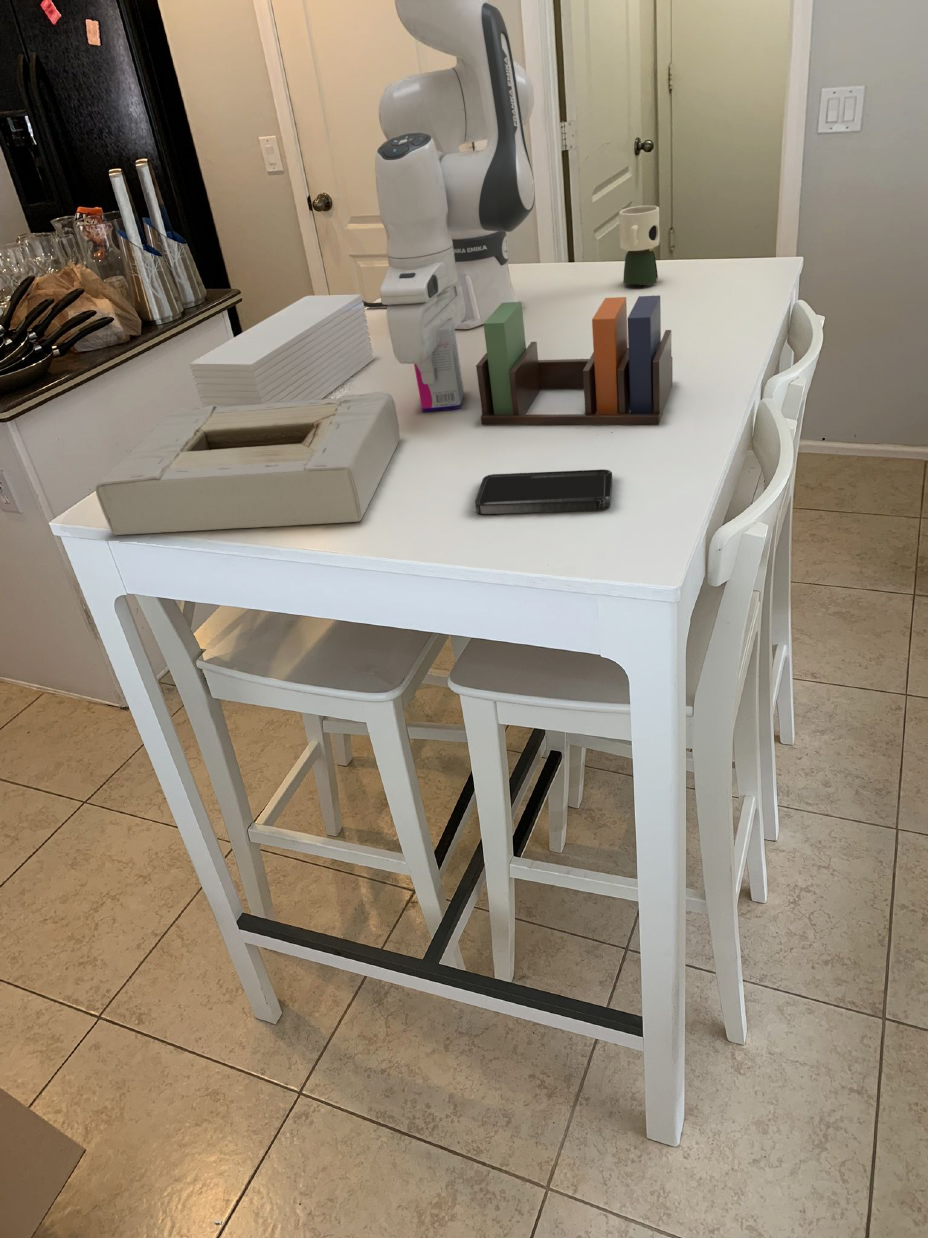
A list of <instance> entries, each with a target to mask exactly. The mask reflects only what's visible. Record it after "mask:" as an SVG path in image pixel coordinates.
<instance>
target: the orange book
mask: <svg viewBox="0 0 928 1238" xmlns="http://www.w3.org/2000/svg"><path fill="white" fill-rule="evenodd" d="M627 307H628V306H627V296H617V297H605V298H604V300H603V301H602V302H601V304H600V305H599V307H598V309H597V311H596V312H595V314H594V315H593V317H592V319H591V327H592V345H593V352H594V367H595V386H596V405H597V412H596V414H619V399H618V372H617V370H618V368H619V366H620V364H621V362H622V360H623V358H624V356H625V353H626V351H627V349H628V311H627V310H628V309H627Z"/></svg>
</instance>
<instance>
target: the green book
mask: <svg viewBox="0 0 928 1238" xmlns="http://www.w3.org/2000/svg"><path fill="white" fill-rule="evenodd" d="M482 325H483V331H484V332H483V333H484V342H485V349H486V350H485V351H486V353H487V358H488V367H489V375H490V383H491V392H492V400H493V409H494V415H513V406H512V397H511V388H510V378H509V372H510V370H511V369H512V367H513V366H514V365H515V363H516V362H517V361H518V359H519V358H520V357H521V355H522V354H523V352H524V351H525V350H526V348H527V345H526V343H527V342H526V333H525V323H524V311H523V303H522V301H518V302H507V303H501V305H500V306H499V307H498V308H497V309H496V310H495V311H494V312H493V314H492V315H491V316H490V317H489V318H488V319H487V320H486V321H485V322H484V324H482Z"/></svg>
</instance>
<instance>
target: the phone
mask: <svg viewBox="0 0 928 1238" xmlns="http://www.w3.org/2000/svg"><path fill="white" fill-rule="evenodd" d="M612 491H613V472H612V471H611V470H610V469H582V470H581V469H580V470H561V471H559V470H557V471H539V472H536V471H535V472H534V471H533V472H517V473H516V472H512V473H492V474H488V475H486V476H484V477H483V478H482V480H481V483H480V485H479V488H478V491H477V493H476V494H477V495H476V497H475V500H474V505H475V511H476V513H478V514H479V515H480V514H481V515H494V514H495V515H496V514H497V515H498V514H523V513H525V514H526V513H556V512H559V513H560V512H583V511H584V512H585V511H586V512H587V511H603V510H606V509H608V508H609V507H610V506H611V501H612Z"/></svg>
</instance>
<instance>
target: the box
mask: <svg viewBox="0 0 928 1238" xmlns="http://www.w3.org/2000/svg"><path fill="white" fill-rule="evenodd" d="M397 412H398V411H397V407H396V403H395V400H394V397H393V396H392V394H390V393H388V392H370V393H362V394H343V395H341V397H333V398H322V399H320V400H307V401H294V402H282V403H268V404H256V405H244V406H231V407H216V406H206V407H202V406H189V407H180V408H179V407H178V408H174V409H170V411H168V413H167V414H166V415H165V417H164V418H163V419H162V420H161V421H160V422H159V423H158V424H157V425H156V426H155V427H154V428H153V429H152V430H151V431H149V433H148V434H147V435H146V436H145V437H143V439H142V440H141V441H140V442H139V443H137V445H136V446H135V447H134V448H133V449H132V450H130V452H129V453H127V455H126V456H124V458H123V459H121V461H119V462H118V463H117V464H116V465H115V466H114V467H113V468H112V469H111V470H110V471H109V472H108V473H106V474H105V476H103V477H102V478H101V479H99V481H98V482H97V483H96V485H95V494H96V497H97V500H98V504H99V506H100V508H101V511H102V514H103V516H104V519H105V520H106V523H107V524H108V527H109V529H110V531H111V533H113V534H114V535H116V536H120V535H138V534H159V533H177V532H193V531H211V530H212V531H215V530H231V529H249V528H250V529H251V528H265V527H268V528H269V527H289V526H304V525H305V526H307V525H323V524H341V523H356V522H357V523H358V522H361V521H362V520H363V517H364V515H365V513H366V511H367V509H368V507H369V505H370V503H371V501H372V498H373V497H374V495H375V493H376V490H377V488H378V486H379V484H380V482H381V480H382V478H383V476H384V474H385V472H386V470H387V468H388V466H389V464H390V462H391V459H392V457H393V455H394V454H395V451H396V449H397V447H398V445H399V443H400V437H401V435H400V433H401V431H400V424H399V419H398V413H397Z"/></svg>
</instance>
